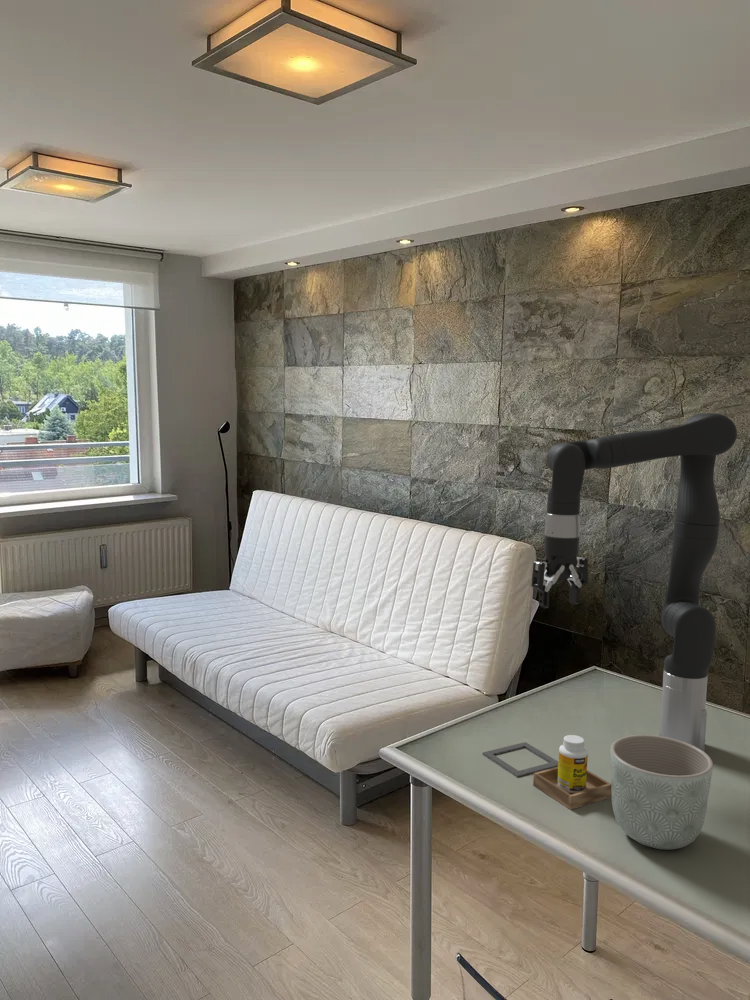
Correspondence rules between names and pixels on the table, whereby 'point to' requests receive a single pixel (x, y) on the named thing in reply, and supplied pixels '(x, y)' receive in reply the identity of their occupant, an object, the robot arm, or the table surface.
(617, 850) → the table surface
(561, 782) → the supplement bottle
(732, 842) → the table surface
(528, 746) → the grey square frame
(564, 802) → the tray
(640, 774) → the planter
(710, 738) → the table surface
